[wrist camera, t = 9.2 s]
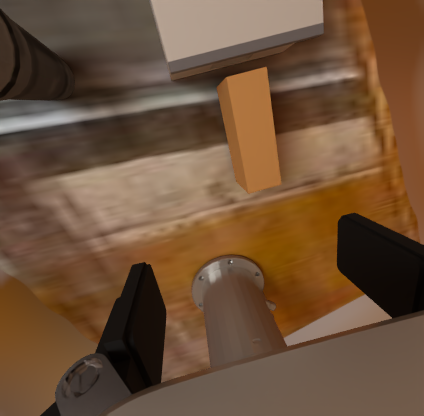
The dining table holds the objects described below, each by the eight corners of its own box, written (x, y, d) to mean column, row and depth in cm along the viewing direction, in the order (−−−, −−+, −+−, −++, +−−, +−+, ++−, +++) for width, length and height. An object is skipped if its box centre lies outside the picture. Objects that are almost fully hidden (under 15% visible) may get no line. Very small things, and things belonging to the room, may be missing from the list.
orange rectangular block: (248, 79, 26) (266, 66, 21) (263, 173, 31) (281, 184, 25) (216, 87, 26) (226, 77, 21) (236, 181, 31) (248, 193, 25)
